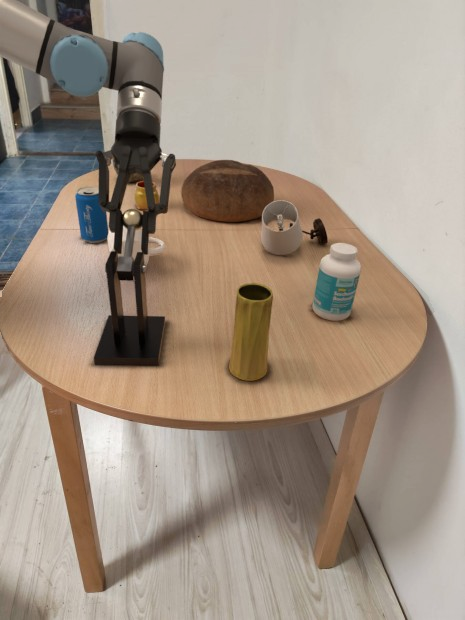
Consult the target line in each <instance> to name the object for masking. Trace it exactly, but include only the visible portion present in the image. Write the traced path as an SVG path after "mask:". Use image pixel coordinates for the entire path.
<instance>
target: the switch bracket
mask: <svg viewBox="0 0 465 620" xmlns="http://www.w3.org/2000/svg"><path fill="white" fill-rule="evenodd" d="M104 264H105V265H104V272H105V275H106V282H107V291H108V299H109V300H108V301H109V310H110V314H108V316H107V319H106V322H105V324H104V326H103V330H102V333H101V336H100V339H99V342H98V345H97V347H96V350H95V353H94V356H93V363H94V365H97V366H98V365H99V366H101V365H102V366H103V365H104V366H159V365H160V360H161V353H162V347H163V342H164V341H163V340H164V334H165V327H166V316H165V315H148V298H147V281H146V274H147V265H144V252H137V254H136V258H135V261H134V264H133V271H134V279H133V283H134V295H135V307H136V315H124V314H125V313H124V304H123V303H124V302H123V294H122V293H123V292H122V284H121V280H119V279H118V275H117V271H116V270H117V264H118V252H117V251H111V253H110V255H109V254H108V257H107V260H106V262H105V263H104Z"/></svg>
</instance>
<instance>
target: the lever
mask: <svg viewBox="0 0 465 620" xmlns="http://www.w3.org/2000/svg"><path fill="white" fill-rule="evenodd" d="M122 214H123V215H122V224H123V226H124V227H125V228H126V229H127V236H126V243H125V249H124V256H123V257H122V256H119V257H118V264H117V270H116V271H117V275H118V279H119V280H120V281H123V282H124V281H127V282H128V281H129V282H130V281H131V282H134V271H133V264H134V258H133V257H132V252H133V245H134V237H135V231H137V230H139V229H142V220H143V212H141V211H140V210H139V209H137V208H128V209H126V210H125V211H124V212H122Z"/></svg>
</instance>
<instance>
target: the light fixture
mask: <svg viewBox="0 0 465 620" xmlns="http://www.w3.org/2000/svg"><path fill="white" fill-rule="evenodd" d="M299 217H300V216H299V211H298V209H297V207H296V205H294V204H293V203H292V202H290V201H288V200H285V199H279V200H273V202H271V203H270V204H268V205H267V206H266V207H265V209H264V211H263V213H262V216H261V232H260V242H261V245H262V247H263V248H264V249H265V250H266V251H267V252H268V253H270V254H272V255H275V256H286V255H290V254H293V253H294V252H295V251H297V250H298V249H299V248H300V246H301V244H302V243H303V239H304V237H303V236H304V234H306V235H309V239H310V240H314V238H316V239H317V242H318V243H319V244H320V245H327V244H328V242H329V239H328V234H327V230H326V227H325V224H324V222H323V220H322V219H321V218H320V217H319V218H318V217H317V218H315V219H314V220H313V222H312V226H313V227H312V228H313V229H312V228H311V229H310V232H309V231H305V230H303V229H302V226H301V222H300V218H299ZM285 220H287V222H289V227H288V228H286V229H284V228H285V226H284V222H285ZM274 221H276V222H275V223H274V225H273V226H272V227H271V228H270V227H268V225H269V224H270V223H272V222H274ZM276 224H277V226H278V230H274V229H273V228H274V227H275V225H276Z"/></svg>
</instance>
